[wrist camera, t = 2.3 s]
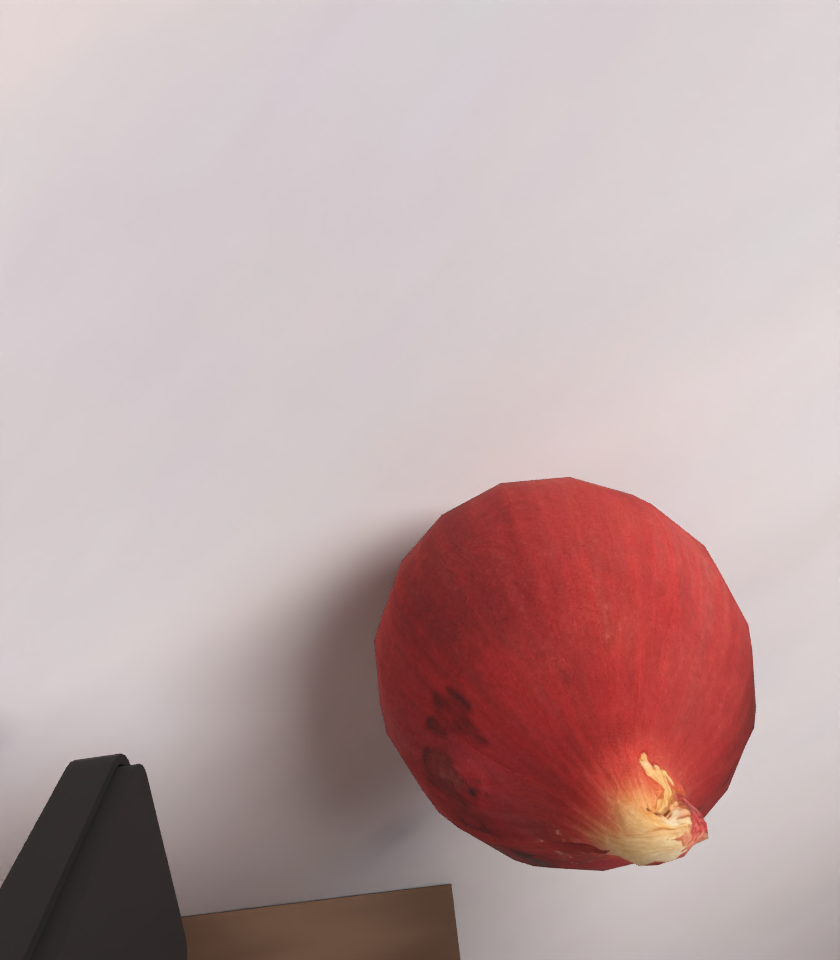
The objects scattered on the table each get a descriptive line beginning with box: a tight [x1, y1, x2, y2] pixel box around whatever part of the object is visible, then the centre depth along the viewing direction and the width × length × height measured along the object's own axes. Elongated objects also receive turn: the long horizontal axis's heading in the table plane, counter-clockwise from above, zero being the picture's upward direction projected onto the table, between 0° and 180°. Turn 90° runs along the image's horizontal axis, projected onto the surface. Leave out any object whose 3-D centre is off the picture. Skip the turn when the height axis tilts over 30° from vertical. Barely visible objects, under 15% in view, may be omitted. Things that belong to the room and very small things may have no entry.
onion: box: [374, 477, 756, 871], centre depth 12 cm, size 6×6×8 cm
